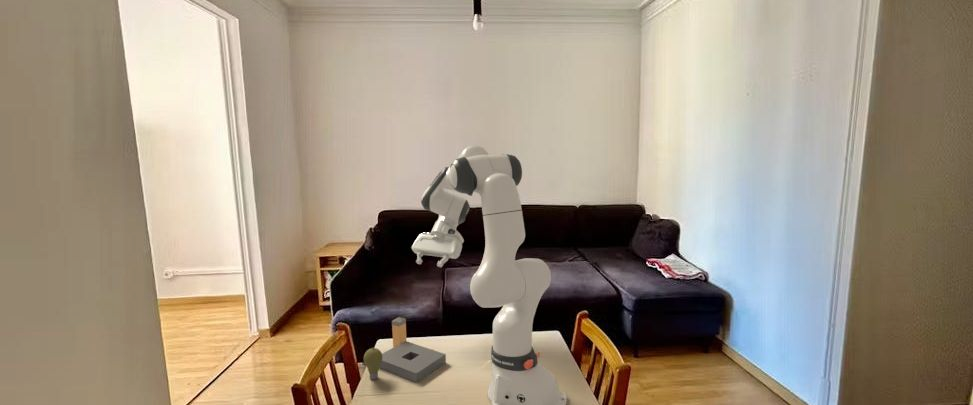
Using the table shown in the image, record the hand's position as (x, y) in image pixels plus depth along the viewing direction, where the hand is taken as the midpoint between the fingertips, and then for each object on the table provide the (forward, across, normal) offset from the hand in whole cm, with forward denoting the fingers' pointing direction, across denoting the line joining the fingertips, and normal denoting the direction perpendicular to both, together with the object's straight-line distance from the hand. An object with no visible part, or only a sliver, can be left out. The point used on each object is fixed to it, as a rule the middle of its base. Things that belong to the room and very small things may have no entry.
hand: (428, 264), depth 158 cm
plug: (+28, -4, +10) cm, 31 cm away
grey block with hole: (+35, +8, +4) cm, 36 cm away
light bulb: (+43, +2, -4) cm, 44 cm away
